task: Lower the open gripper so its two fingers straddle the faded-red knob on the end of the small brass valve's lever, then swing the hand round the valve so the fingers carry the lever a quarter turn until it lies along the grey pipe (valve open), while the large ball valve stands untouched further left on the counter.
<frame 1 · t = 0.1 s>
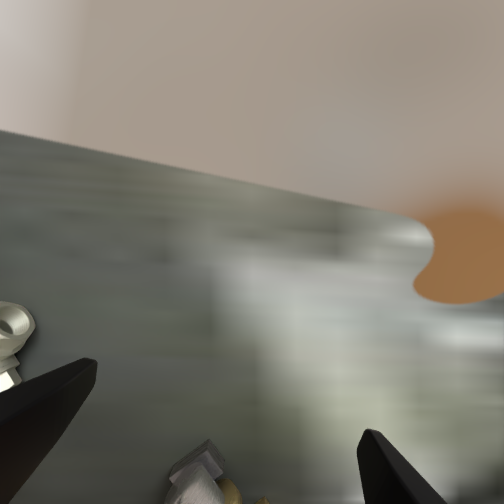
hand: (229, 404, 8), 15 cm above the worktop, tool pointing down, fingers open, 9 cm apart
ball valve: (1, 336, 24), on the worktop
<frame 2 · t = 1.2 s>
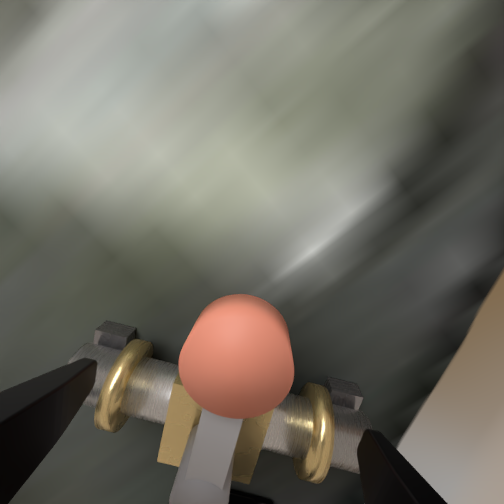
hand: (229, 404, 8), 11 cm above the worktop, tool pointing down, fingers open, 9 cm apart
valve body: (226, 373, 21), on the worktop
lever: (223, 407, 12), point 8 cm above the worktop, hinge at 0.0°
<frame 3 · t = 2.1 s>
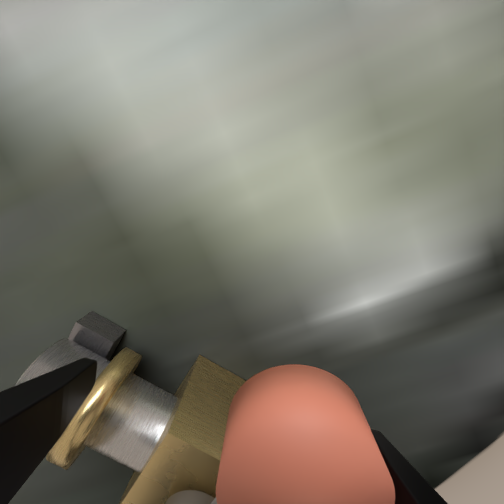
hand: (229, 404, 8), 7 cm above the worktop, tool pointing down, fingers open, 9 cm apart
valve body: (217, 409, 17), on the worktop
lever: (238, 501, 9), point 8 cm above the worktop, hinge at 0.1°, touching gripper
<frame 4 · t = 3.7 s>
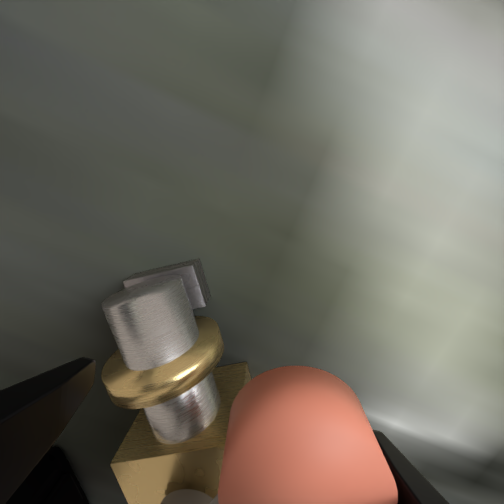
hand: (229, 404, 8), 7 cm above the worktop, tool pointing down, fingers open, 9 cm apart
valve body: (214, 408, 17), on the worktop
lever: (237, 501, 9), point 8 cm above the worktop, hinge at 43.5°, touching gripper
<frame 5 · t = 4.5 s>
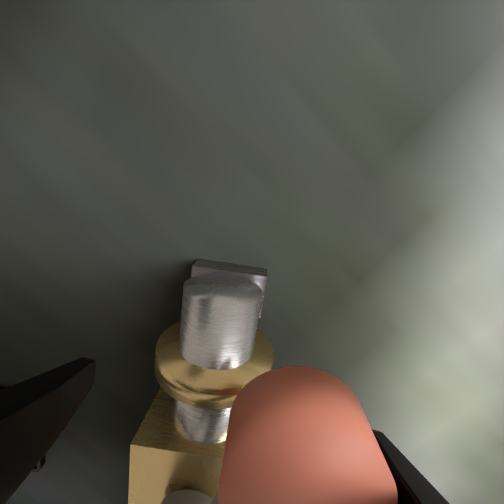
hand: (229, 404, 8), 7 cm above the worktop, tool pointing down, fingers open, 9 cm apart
valve body: (214, 408, 17), on the worktop
lever: (237, 502, 9), point 8 cm above the worktop, hinge at 65.4°, touching gripper
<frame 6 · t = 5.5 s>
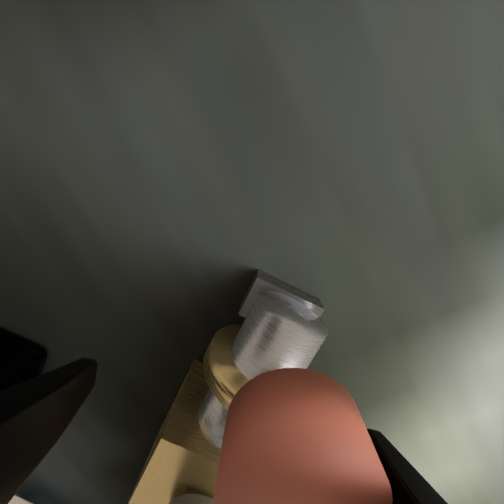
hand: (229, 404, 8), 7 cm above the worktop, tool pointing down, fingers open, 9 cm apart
valve body: (218, 411, 17), on the worktop
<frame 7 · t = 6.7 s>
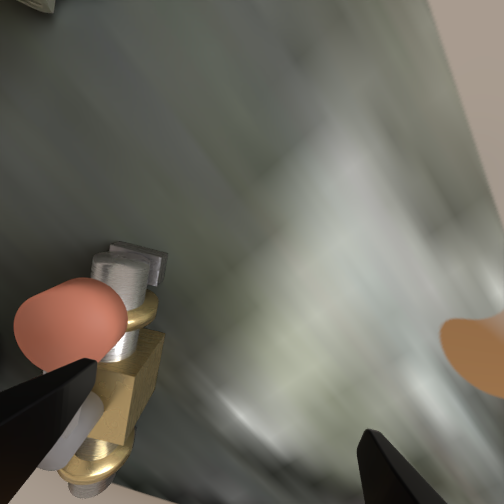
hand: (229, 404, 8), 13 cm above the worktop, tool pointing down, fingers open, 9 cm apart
valve body: (127, 354, 23), on the worktop
lever: (74, 371, 15), point 8 cm above the worktop, hinge at 85.9°
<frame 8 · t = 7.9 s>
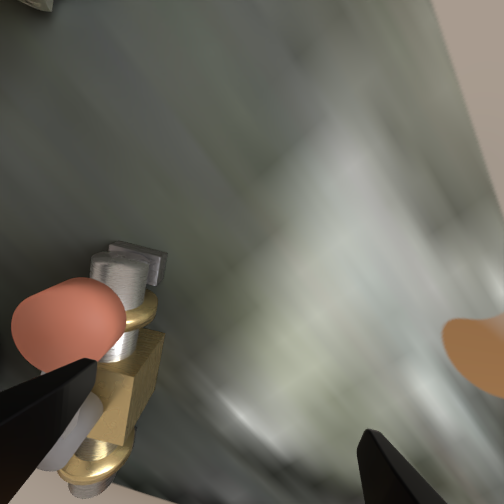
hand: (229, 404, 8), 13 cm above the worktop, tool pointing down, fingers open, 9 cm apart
valve body: (127, 354, 23), on the worktop
lever: (73, 372, 15), point 8 cm above the worktop, hinge at 85.9°
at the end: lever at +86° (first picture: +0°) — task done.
